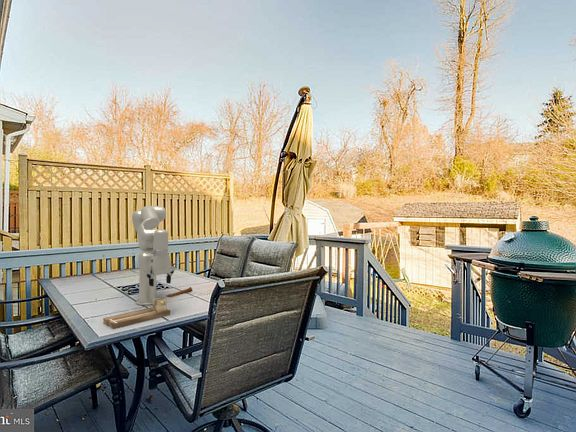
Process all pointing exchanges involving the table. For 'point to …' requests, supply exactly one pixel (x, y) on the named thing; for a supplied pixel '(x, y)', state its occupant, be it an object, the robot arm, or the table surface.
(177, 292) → the primitive tool
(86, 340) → the table surface
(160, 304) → the marking gauge
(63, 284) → the table surface
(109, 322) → the board
